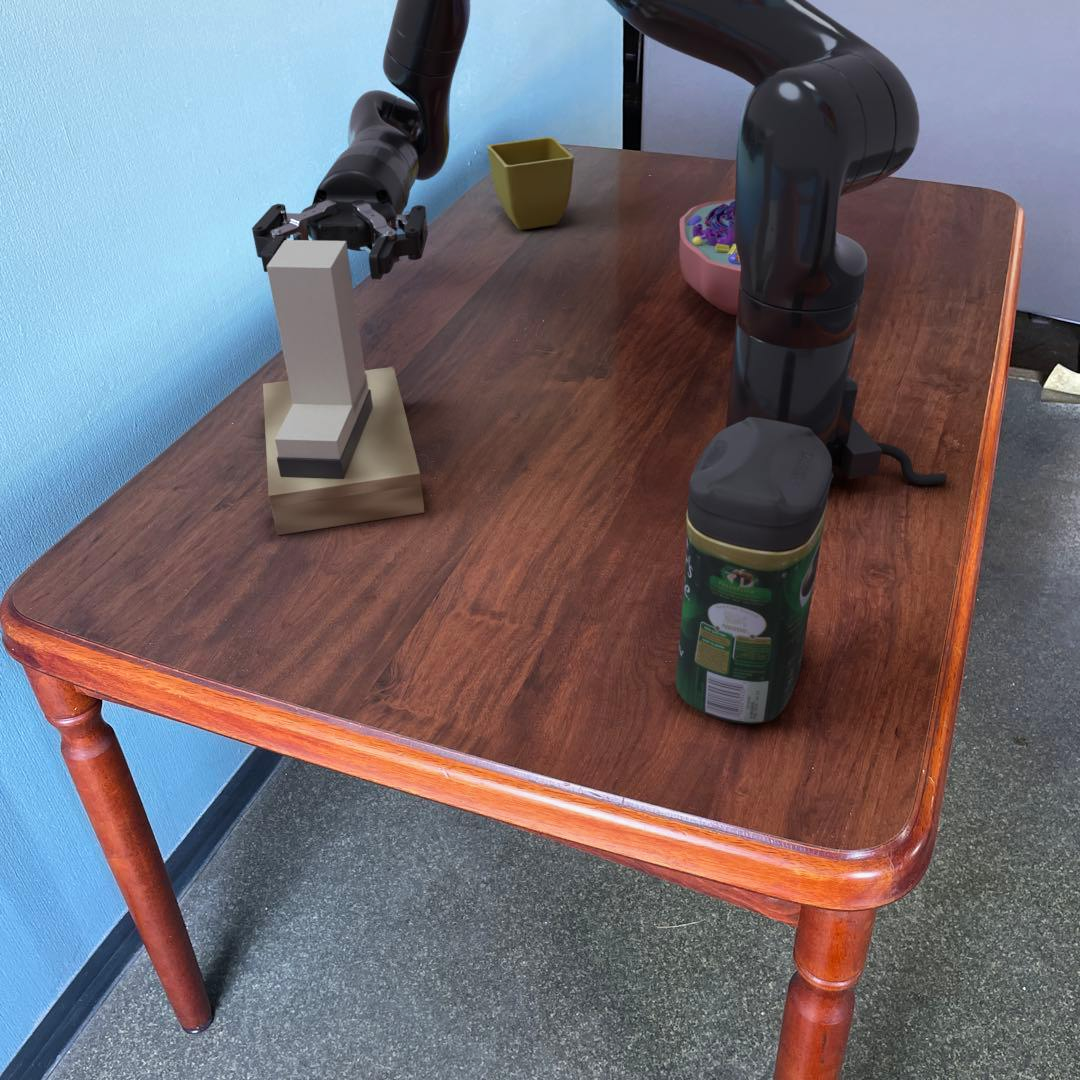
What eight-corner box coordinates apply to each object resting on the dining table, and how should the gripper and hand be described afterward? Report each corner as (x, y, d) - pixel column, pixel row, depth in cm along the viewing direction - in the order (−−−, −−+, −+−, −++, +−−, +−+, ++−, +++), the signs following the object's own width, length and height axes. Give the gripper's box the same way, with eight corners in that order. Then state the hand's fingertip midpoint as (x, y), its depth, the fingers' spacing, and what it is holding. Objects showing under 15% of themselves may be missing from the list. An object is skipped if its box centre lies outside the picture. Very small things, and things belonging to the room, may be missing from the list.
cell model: (652, 334, 112) (657, 229, 105) (694, 257, 127) (700, 161, 120) (817, 355, 108) (833, 248, 101) (840, 273, 122) (855, 174, 115)
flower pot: (490, 214, 139) (486, 143, 133) (554, 204, 141) (552, 135, 135) (508, 239, 132) (505, 166, 127) (575, 229, 134) (575, 157, 129)
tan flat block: (398, 403, 102) (393, 366, 100) (424, 512, 89) (420, 473, 86) (270, 420, 101) (262, 383, 98) (277, 535, 87) (268, 495, 84)
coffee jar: (701, 617, 78) (721, 395, 66) (810, 646, 75) (850, 419, 64) (658, 710, 71) (672, 479, 59) (777, 744, 68) (816, 510, 57)
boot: (315, 405, 95) (285, 237, 85) (373, 407, 94) (349, 237, 85) (280, 477, 86) (242, 298, 77) (343, 479, 86) (313, 300, 76)
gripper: (283, 152, 97) (226, 222, 85) (438, 153, 96) (404, 224, 84) (296, 231, 102) (245, 309, 89) (444, 233, 101) (414, 312, 88)
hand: (322, 267), depth 87 cm, fingers open, 8 cm apart
